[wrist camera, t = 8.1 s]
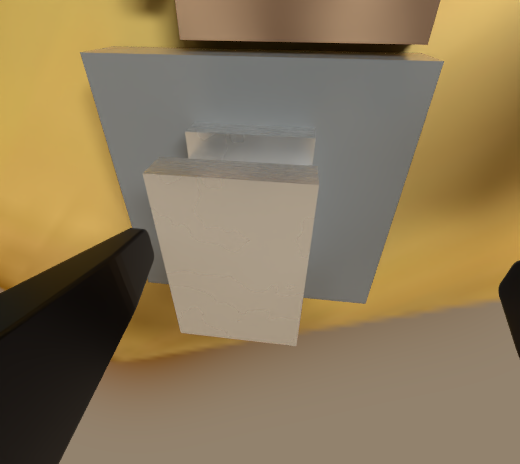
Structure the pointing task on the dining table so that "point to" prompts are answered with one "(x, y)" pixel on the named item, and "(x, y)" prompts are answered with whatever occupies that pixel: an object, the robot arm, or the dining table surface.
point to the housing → (237, 228)
